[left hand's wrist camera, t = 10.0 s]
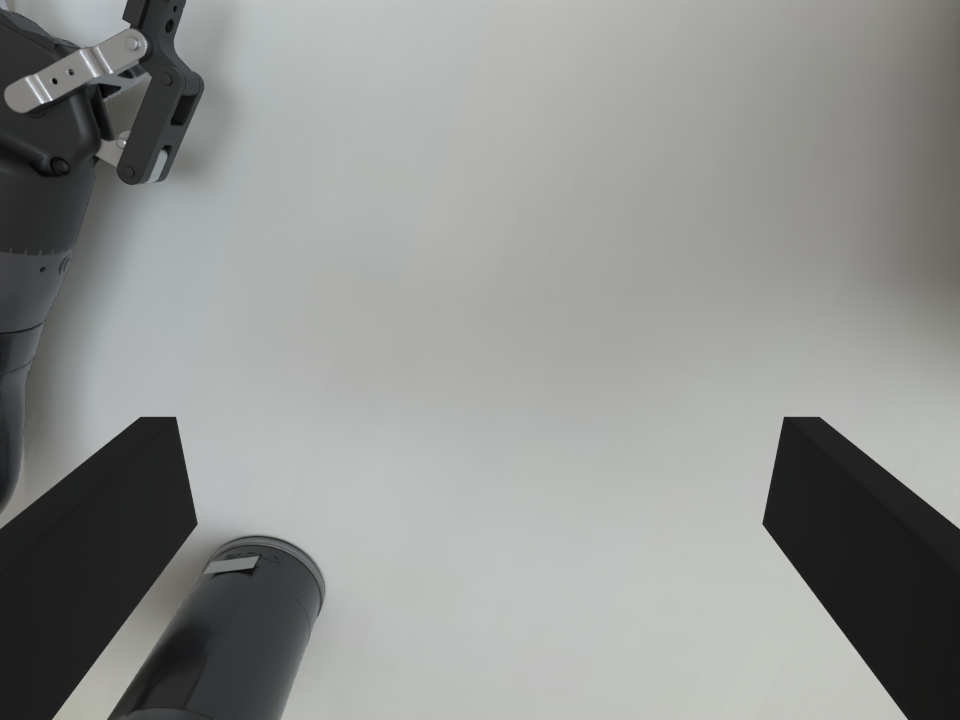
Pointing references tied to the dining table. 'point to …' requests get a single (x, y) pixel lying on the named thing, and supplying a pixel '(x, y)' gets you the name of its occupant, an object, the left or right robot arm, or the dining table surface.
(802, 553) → the left robot arm
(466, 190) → the dining table surface
